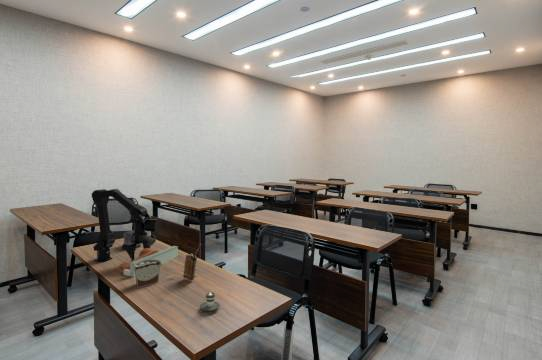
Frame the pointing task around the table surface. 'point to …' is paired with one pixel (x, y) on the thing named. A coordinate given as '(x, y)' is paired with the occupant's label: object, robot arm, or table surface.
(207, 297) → the grey knobbed lid
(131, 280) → the table surface
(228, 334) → the table surface
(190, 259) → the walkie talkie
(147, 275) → the food container
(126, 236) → the small box
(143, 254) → the crank
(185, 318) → the table surface
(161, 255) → the chute mount
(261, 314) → the table surface
